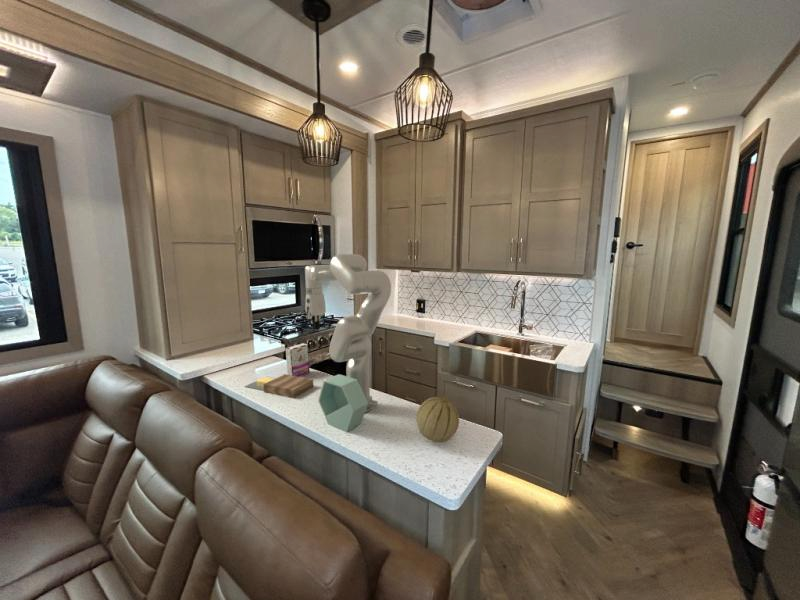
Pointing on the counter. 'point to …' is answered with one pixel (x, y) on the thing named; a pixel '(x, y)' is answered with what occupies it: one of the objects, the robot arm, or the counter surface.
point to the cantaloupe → (437, 419)
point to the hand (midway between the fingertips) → (316, 329)
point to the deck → (288, 386)
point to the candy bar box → (297, 360)
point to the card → (263, 381)
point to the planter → (342, 402)
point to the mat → (255, 386)
